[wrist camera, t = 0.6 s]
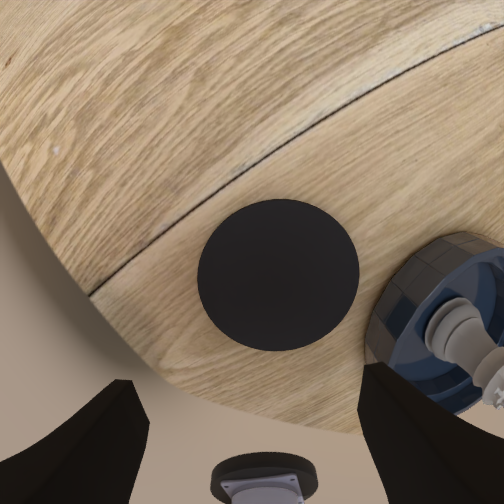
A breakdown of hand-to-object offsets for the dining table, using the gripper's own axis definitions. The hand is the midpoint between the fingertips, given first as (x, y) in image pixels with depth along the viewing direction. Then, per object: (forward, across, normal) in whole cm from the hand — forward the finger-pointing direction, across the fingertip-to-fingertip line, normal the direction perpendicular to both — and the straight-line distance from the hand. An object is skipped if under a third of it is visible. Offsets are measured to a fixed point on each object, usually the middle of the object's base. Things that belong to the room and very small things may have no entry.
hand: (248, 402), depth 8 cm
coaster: (+9, -2, 0) cm, 9 cm away
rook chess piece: (+9, -13, +4) cm, 17 cm away
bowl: (+9, -13, +4) cm, 17 cm away
